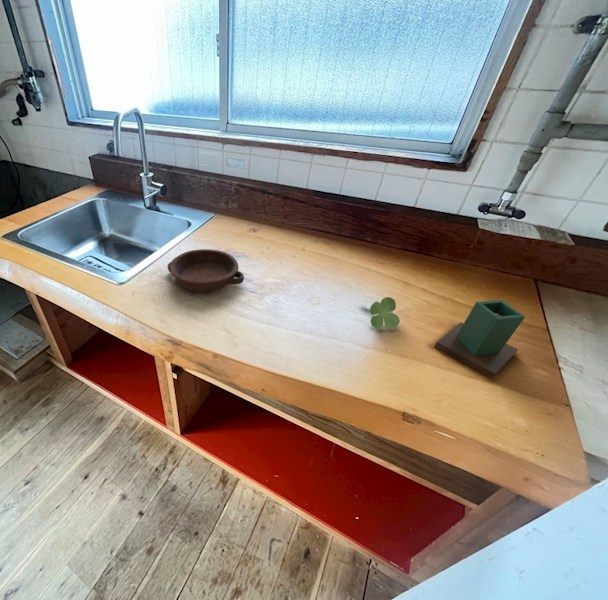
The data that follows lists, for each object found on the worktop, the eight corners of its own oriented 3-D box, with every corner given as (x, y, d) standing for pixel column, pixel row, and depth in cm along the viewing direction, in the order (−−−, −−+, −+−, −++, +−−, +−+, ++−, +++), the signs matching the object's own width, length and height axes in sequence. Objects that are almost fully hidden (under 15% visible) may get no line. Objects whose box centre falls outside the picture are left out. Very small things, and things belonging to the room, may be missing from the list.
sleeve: (478, 335, 65) (501, 299, 59) (499, 353, 61) (525, 316, 55) (455, 337, 64) (476, 301, 59) (474, 355, 60) (498, 319, 55)
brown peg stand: (514, 354, 62) (542, 317, 57) (491, 378, 58) (519, 341, 52) (457, 327, 69) (478, 291, 63) (433, 347, 65) (453, 310, 59)
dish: (233, 305, 78) (234, 289, 75) (153, 290, 84) (150, 274, 81) (251, 269, 91) (252, 254, 88) (180, 258, 97) (179, 243, 94)
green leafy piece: (369, 333, 75) (389, 338, 69) (345, 313, 74) (363, 317, 68) (387, 308, 76) (408, 311, 69) (363, 288, 74) (382, 289, 68)
